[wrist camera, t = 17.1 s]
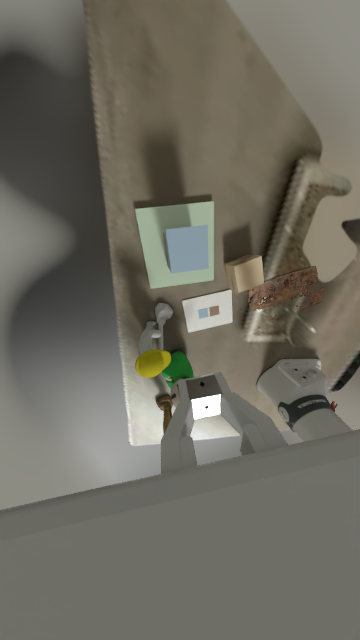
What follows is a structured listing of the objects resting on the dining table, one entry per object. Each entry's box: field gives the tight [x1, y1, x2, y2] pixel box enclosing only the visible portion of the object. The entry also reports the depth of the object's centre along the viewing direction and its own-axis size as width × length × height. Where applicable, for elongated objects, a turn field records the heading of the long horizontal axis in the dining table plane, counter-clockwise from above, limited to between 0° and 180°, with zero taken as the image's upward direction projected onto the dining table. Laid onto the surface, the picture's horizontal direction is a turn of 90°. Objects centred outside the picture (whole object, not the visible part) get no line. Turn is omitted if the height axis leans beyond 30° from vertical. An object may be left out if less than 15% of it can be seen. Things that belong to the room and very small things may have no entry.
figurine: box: [135, 303, 173, 378], centre depth 30 cm, size 10×9×15 cm
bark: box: [247, 266, 324, 320], centre depth 38 cm, size 22×12×1 cm, turn 110°
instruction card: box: [182, 290, 232, 333], centre depth 37 cm, size 12×9×1 cm
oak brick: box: [224, 254, 264, 293], centre depth 32 cm, size 6×6×5 cm
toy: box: [162, 350, 194, 407], centre depth 36 cm, size 10×11×15 cm
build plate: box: [135, 201, 214, 289], centre depth 30 cm, size 14×14×1 cm
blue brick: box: [164, 225, 209, 274], centre depth 23 cm, size 6×6×5 cm
